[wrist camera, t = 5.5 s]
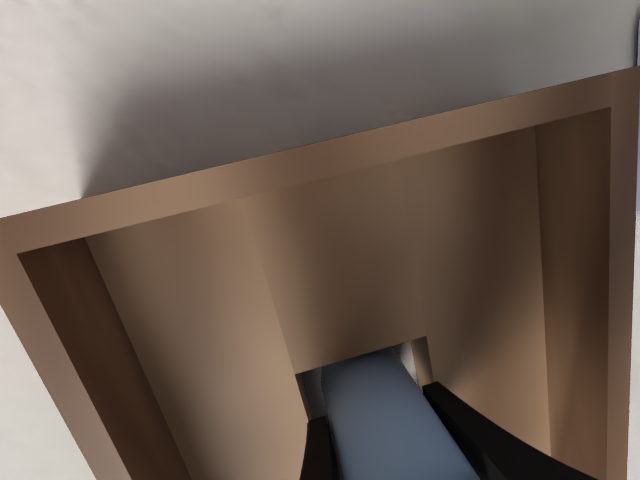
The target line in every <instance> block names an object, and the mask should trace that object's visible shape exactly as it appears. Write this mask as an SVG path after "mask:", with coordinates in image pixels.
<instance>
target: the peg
mask: <svg viewBox="0 0 640 480" xmlns="http://www.w3.org/2000/svg"><path fill="white" fill-rule="evenodd" d="M321 386H322V391H323V395H324V400H325V404H326V409H327V413H328V418H329V422H330V426H331V431H332V435H333V440H334V444H335V449H336V453H337V458H338V462H339V467H340V471H341V476H342V480H480V478H479V477H478V475H477V474H476V472H475V471H474V469H473V468H472V466H471V465H470V463H469V462H468V460H467V459H466V457H465V456H464V454H463V453H462V451H461V450H460V448H459V447H458V445H457V444H456V442H455V441H454V439H453V438H452V436H451V435H450V433H449V432H448V431H447V429H446V428H445V426H444V425H443V423H442V422H441V420H440V419H439V417H438V416H437V414H436V413H435V411H434V410H433V408H432V407H431V405H430V404H429V402H428V401H427V399H426V398H425V396H424V395H423V393H422V392H421V390H420V389H419V387H418V386H417V384H416V383H415V381H414V380H413V378H412V377H411V375H410V374H409V372H408V371H407V369H406V368H405V366H404V365H403V363H402V362H401V360H400V359H399V357H398V356H397V354H396V353H395V352H394V350H393V349H392V348H391V347H387V348H383V349H380V350H376V351H373V352H370V353H366V354H363V355H359V356H356V357H352V358H349V359H346V360H342V361H339V362H335V363H332V364H329V365H325V366H323V369H322V373H321Z"/></svg>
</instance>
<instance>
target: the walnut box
mask: <svg viewBox="0 0 640 480" xmlns="http://www.w3.org/2000/svg"><path fill="white" fill-rule="evenodd" d="M639 105H640V65H639V66H635V67H631V68H627V69H623V70H618V71H614V72H610V73H606V74H602V75H597V76H593V77H589V78H585V79H581V80H577V81H572V82H568V83H564V84H560V85H556V86H551V87H547V88H543V89H539V90H535V91H530V92H526V93H522V94H518V95H514V96H510V97H505V98H501V99H497V100H493V101H489V102H484V103H480V104H476V105H472V106H468V107H464V108H459V109H455V110H451V111H447V112H443V113H438V114H434V115H430V116H426V117H422V118H418V119H413V120H409V121H405V122H401V123H397V124H392V125H388V126H384V127H380V128H376V129H371V130H367V131H363V132H359V133H355V134H351V135H346V136H342V137H338V138H334V139H330V140H325V141H321V142H317V143H313V144H309V145H305V146H300V147H296V148H292V149H288V150H284V151H279V152H275V153H271V154H267V155H263V156H258V157H254V158H250V159H246V160H242V161H238V162H233V163H229V164H225V165H221V166H217V167H212V168H208V169H204V170H200V171H196V172H192V173H187V174H183V175H179V176H175V177H171V178H166V179H162V180H158V181H154V182H150V183H146V184H141V185H137V186H133V187H129V188H125V189H120V190H116V191H112V192H108V193H104V194H99V195H95V196H91V197H87V198H83V199H79V200H74V201H70V202H66V203H62V204H58V205H53V206H49V207H45V208H41V209H37V210H33V211H28V212H24V213H20V214H16V215H12V216H7V217H3V218H0V305H1V306H2V308H3V310H4V312H5V314H6V316H7V317H8V319H9V321H10V323H11V325H12V326H13V328H14V330H15V332H16V334H17V336H18V337H19V339H20V341H21V343H22V345H23V347H24V348H25V350H26V352H27V354H28V356H29V357H30V359H31V361H32V363H33V365H34V367H35V368H36V370H37V372H38V374H39V376H40V377H41V379H42V381H43V383H44V385H45V387H46V388H47V390H48V392H49V394H50V396H51V397H52V399H53V401H54V403H55V405H56V407H57V408H58V410H59V412H60V414H61V416H62V418H63V419H64V421H65V423H66V425H67V427H68V428H69V430H70V432H71V434H72V436H73V438H74V439H75V441H76V443H77V445H78V447H79V448H80V450H81V452H82V454H83V456H84V458H85V459H86V461H87V463H88V465H89V467H90V468H91V470H92V472H93V474H94V476H95V478H96V479H97V480H299V479H300V474H301V469H302V463H303V458H304V452H305V445H306V436H307V423H308V421H309V420H311V419H313V416H312V413H311V409H310V406H309V402H308V399H307V395H306V392H305V388H304V385H303V382H302V378H301V375H300V373H301V372H305V371H308V370H311V369H315V368H318V367H322V366H325V365H329V364H332V363H335V362H339V361H342V360H346V359H349V358H352V357H356V356H359V355H363V354H366V353H370V352H373V351H376V350H380V349H383V348H387V347H390V346H393V345H397V344H400V343H404V342H407V341H411V346H412V351H413V357H414V363H415V368H416V374H417V380H418V385H419V389H420V390H421V392H422V393H423V390H422V386H423V385H426V384H430V383H433V382H436V381H438V382H439V383H441V384H442V385H443V386H445V387H446V388H447V389H449V390H450V391H451V392H452V393H454V394H455V395H456V396H458V397H459V398H460V399H462V400H463V401H464V402H466V403H467V404H468V405H470V406H471V407H472V408H474V409H475V410H476V411H478V412H479V413H481V414H482V415H484V416H485V417H487V418H488V419H489V420H491V421H492V422H494V423H495V424H497V425H498V426H500V427H501V428H503V429H504V430H506V431H508V432H509V433H511V434H512V435H514V436H516V437H517V438H519V439H520V440H522V441H524V442H525V443H527V444H529V445H531V446H532V447H534V448H536V449H538V450H539V451H541V452H543V453H545V454H547V455H549V456H550V457H552V458H554V459H556V460H558V461H560V462H562V463H564V464H566V465H568V466H570V467H572V468H574V469H577V470H579V471H581V472H583V473H585V474H587V475H590V476H592V477H594V478H596V479H598V480H627V456H628V427H629V397H630V368H631V339H632V310H633V280H634V251H635V222H636V193H637V163H638V134H639ZM331 437H332V440H333V435H332V433H331ZM333 444H334V440H333ZM334 447H335V444H334ZM335 451H336V449H335ZM336 455H337V453H336ZM338 463H339V462H338Z"/></svg>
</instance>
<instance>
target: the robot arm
mask: <svg viewBox="0 0 640 480" xmlns="http://www.w3.org/2000/svg"><path fill="white" fill-rule="evenodd" d="M639 65H640V19H639V29H638V61H637V66H639ZM636 214H638V215H640V105H639V134H638V163H637V193H636ZM422 390H423V395H424V396H425V398H426V399H427V401H428V402H429V404H430V405H431V407H432V408H433V410H434V411H435V413H436V414H437V416H438V417H439V419H440V420H441V422H442V423H443V425H444V426H445V428H446V429H447V431H448V432H449V433H450V435H451V436H452V438H453V439H454V441H455V442H456V444H457V445H458V447H459V448H460V450H461V451H462V453H463V454H464V456H465V457H466V459H467V460H468V462H469V463H470V465H471V466H472V468H473V469H474V471H475V472H476V474H477V475H478V477H479V478H480V480H598V479H596V478H594V477H592V476H590V475H587V474H585V473H583V472H581V471H579V470H577V469H574V468H572V467H570V466H568V465H566V464H564V463H562V462H560V461H558V460H556V459H554V458H552V457H550V456H549V455H547V454H545V453H543V452H541V451H539V450H538V449H536V448H534V447H532V446H531V445H529V444H527V443H525V442H524V441H522V440H520V439H519V438H517V437H516V436H514V435H512V434H511V433H509V432H508V431H506V430H504V429H503V428H501V427H500V426H498V425H497V424H495V423H494V422H492V421H491V420H489V419H488V418H487V417H485V416H484V415H482V414H481V413H479V412H478V411H476V410H475V409H474V408H472V407H471V406H470V405H468V404H467V403H466V402H464V401H463V400H462V399H460V398H459V397H458V396H456V395H455V394H454V393H452V392H451V391H450V390H449V389H447V388H446V387H445V386H443V385H442V384H441V383H439V382H438V381H436V382H433V383H430V384H426V385H423V386H422ZM299 480H342V476H341V471H340V467H339V463H338V458H337V455H336V451H335V447H334V444H333V440H332V437H331V433H330V429H329V426H328V422H327V419H326V415H325V416H321V417H318V418H315V419H311V420H309V421H308V423H307V436H306V445H305V452H304V458H303V463H302V469H301V474H300V479H299Z"/></svg>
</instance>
